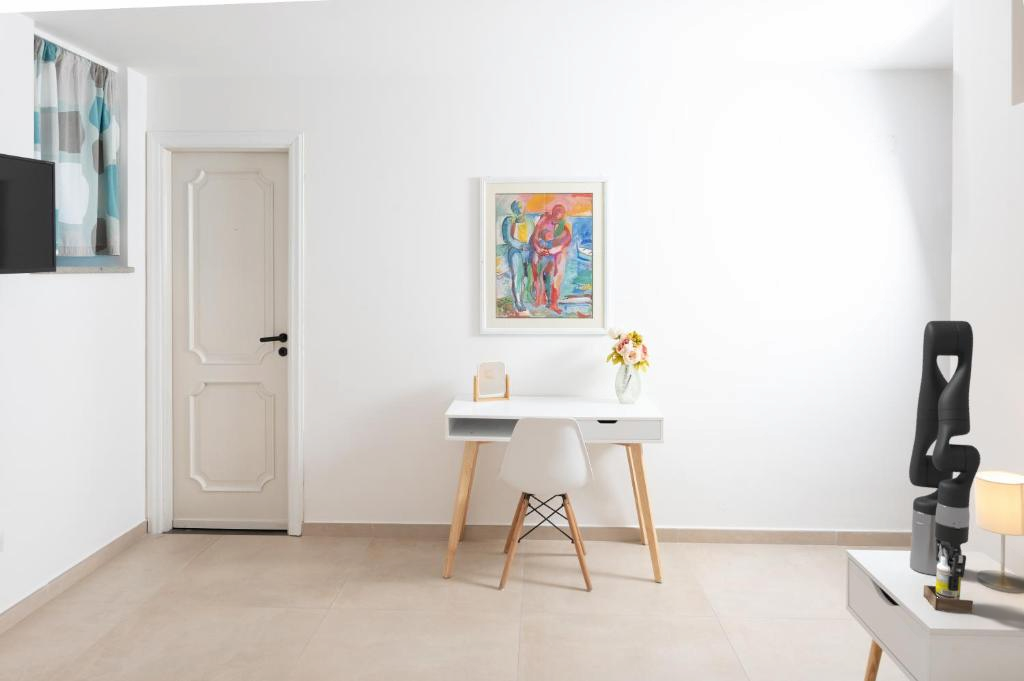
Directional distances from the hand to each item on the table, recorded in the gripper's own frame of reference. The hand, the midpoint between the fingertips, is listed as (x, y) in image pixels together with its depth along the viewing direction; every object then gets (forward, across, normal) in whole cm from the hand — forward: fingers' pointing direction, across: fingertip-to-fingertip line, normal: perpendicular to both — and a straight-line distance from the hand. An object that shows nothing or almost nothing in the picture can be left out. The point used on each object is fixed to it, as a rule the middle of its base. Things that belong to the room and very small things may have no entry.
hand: (948, 585), depth 202 cm
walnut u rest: (+5, 0, 0) cm, 5 cm away
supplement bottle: (+3, 0, 0) cm, 3 cm away
